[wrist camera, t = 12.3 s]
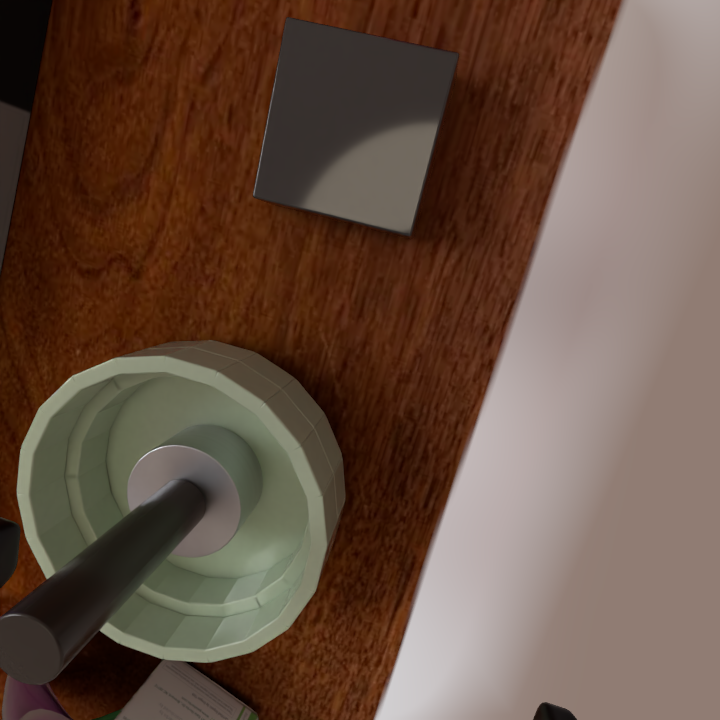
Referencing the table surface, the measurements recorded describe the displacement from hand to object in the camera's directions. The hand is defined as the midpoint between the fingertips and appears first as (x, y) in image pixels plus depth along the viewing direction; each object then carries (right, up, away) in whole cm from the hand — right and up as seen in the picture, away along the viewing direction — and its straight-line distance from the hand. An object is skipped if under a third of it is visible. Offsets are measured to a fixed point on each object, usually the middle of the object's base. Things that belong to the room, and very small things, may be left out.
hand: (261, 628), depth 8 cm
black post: (-5, -1, +13) cm, 14 cm away
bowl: (-5, -1, +14) cm, 15 cm away
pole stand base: (+2, +13, +11) cm, 17 cm away
